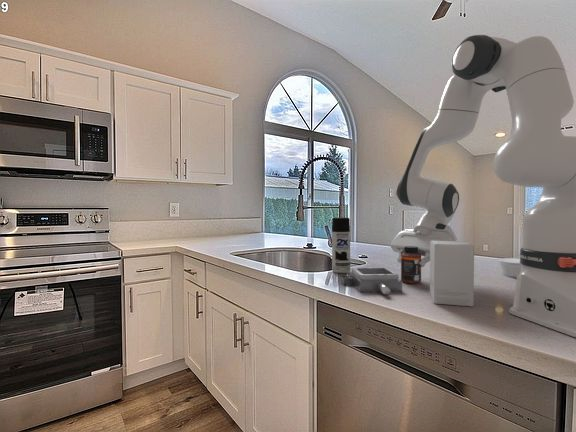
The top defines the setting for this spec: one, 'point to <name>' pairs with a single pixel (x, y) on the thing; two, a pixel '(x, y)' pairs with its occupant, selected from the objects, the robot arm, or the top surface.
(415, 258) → the supplement bottle
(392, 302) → the top surface
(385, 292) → the grey square tray
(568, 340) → the top surface
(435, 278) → the supplement box
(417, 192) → the robot arm
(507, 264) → the ramekin
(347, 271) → the spray can
